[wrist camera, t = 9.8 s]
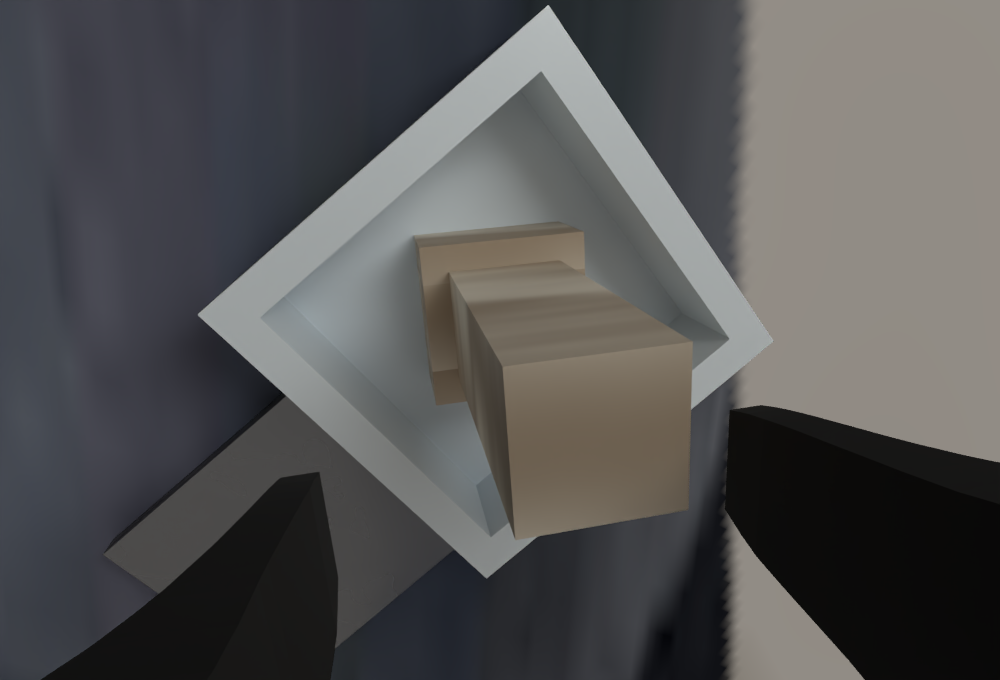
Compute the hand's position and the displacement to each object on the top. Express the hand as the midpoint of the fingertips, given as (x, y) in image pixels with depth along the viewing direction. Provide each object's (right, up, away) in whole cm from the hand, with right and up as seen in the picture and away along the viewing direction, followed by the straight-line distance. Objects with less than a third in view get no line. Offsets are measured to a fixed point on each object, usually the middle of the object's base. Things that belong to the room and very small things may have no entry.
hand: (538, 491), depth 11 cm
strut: (-1, +4, +9) cm, 9 cm away
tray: (-1, +4, +10) cm, 10 cm away
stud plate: (-8, -4, +11) cm, 14 cm away
